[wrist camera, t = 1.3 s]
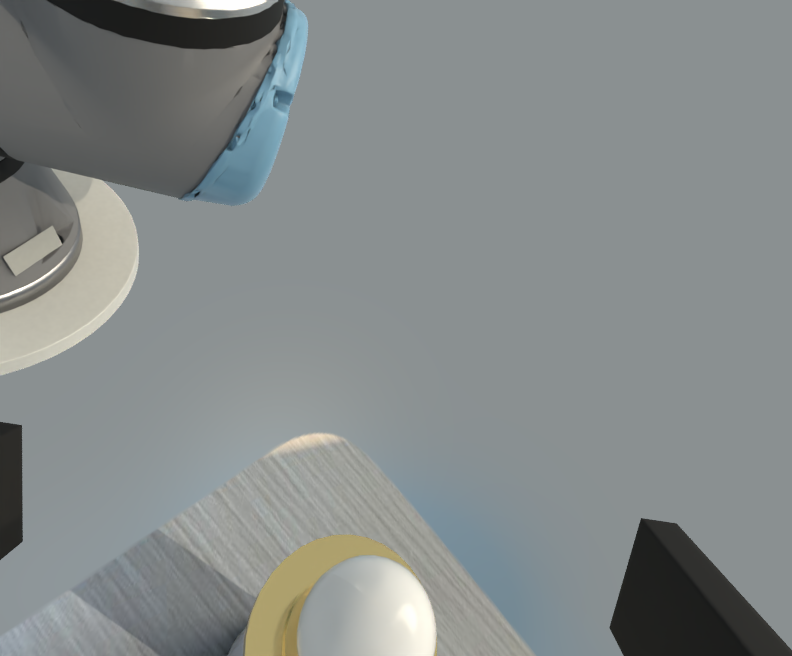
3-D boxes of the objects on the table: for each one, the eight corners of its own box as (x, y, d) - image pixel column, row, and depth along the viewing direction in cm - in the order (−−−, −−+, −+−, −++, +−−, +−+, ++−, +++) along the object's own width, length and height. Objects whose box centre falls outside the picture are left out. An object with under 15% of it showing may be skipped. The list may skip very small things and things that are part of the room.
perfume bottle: (188, 666, 25) (207, 617, 10) (277, 582, 29) (389, 456, 14) (255, 767, 24) (392, 880, 9) (341, 666, 28) (539, 626, 13)
